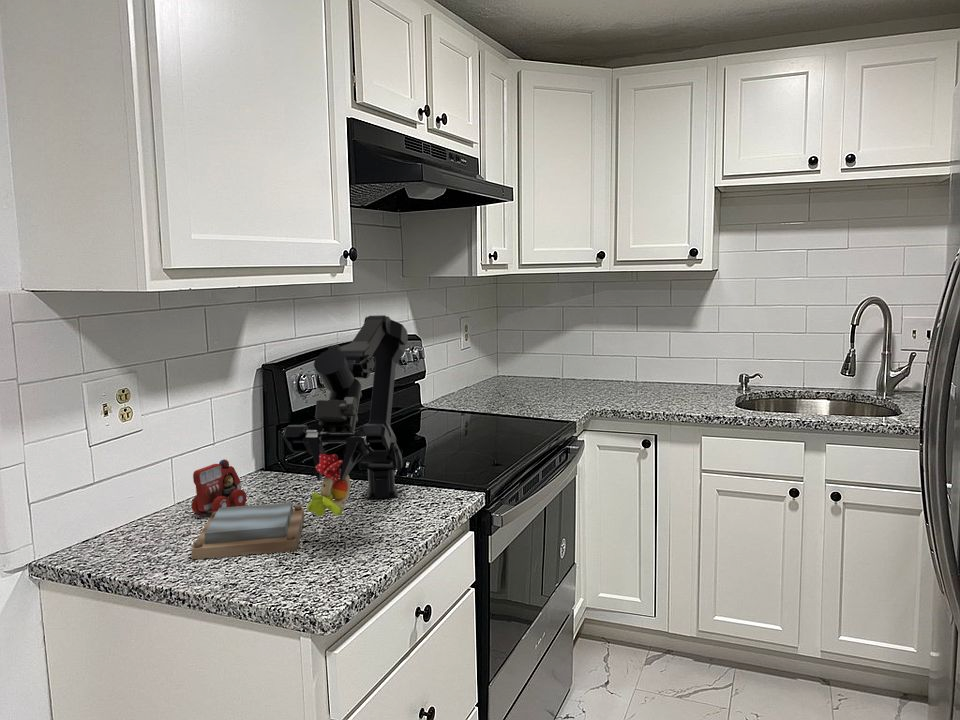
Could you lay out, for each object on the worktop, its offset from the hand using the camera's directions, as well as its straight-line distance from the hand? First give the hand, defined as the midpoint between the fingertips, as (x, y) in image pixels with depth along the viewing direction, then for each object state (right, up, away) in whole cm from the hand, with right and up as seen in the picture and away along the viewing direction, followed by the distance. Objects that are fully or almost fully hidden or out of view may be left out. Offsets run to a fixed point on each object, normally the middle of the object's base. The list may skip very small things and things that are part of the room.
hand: (330, 479), depth 130 cm
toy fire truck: (-29, -11, +26) cm, 40 cm away
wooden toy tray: (-17, -12, +10) cm, 23 cm away
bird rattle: (0, -6, +2) cm, 7 cm away
